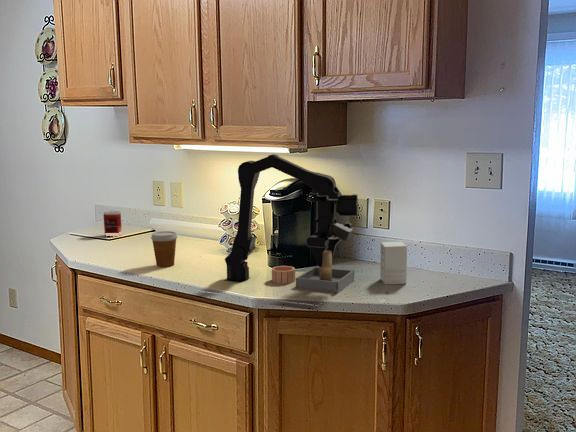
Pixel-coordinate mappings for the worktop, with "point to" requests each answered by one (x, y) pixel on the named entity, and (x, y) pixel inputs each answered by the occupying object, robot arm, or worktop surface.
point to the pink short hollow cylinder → (283, 274)
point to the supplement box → (393, 262)
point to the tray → (337, 284)
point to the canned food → (112, 222)
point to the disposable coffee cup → (164, 248)
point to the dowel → (326, 267)
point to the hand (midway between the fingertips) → (325, 263)
